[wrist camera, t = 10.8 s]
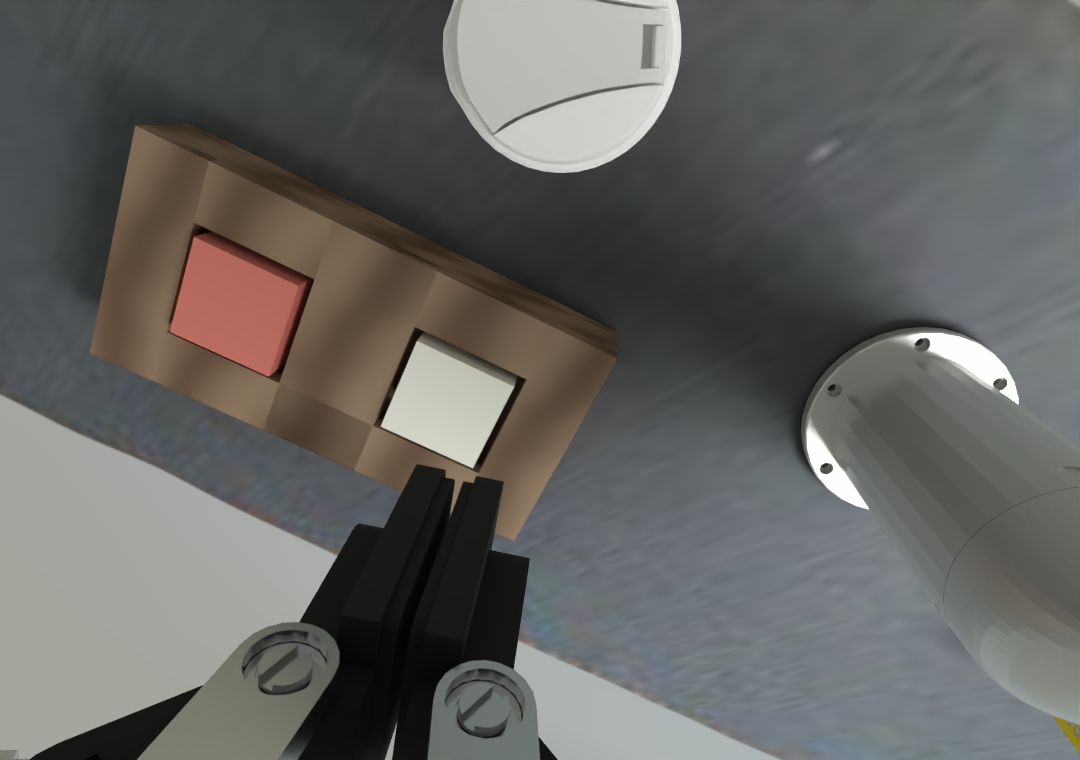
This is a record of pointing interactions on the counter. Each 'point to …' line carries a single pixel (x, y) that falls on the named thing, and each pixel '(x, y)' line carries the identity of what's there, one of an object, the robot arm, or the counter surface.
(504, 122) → the coffee cup
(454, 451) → the white key
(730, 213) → the counter surface
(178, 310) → the red key
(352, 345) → the panel
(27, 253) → the counter surface
